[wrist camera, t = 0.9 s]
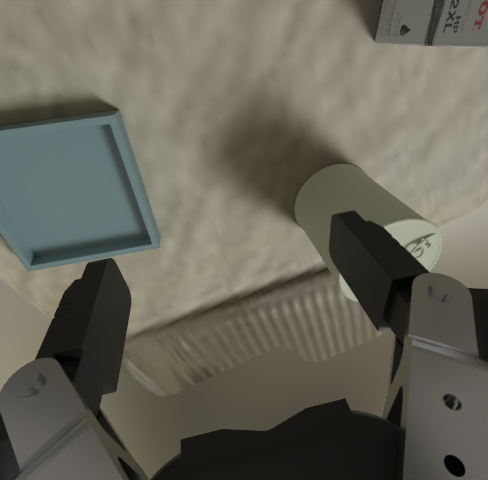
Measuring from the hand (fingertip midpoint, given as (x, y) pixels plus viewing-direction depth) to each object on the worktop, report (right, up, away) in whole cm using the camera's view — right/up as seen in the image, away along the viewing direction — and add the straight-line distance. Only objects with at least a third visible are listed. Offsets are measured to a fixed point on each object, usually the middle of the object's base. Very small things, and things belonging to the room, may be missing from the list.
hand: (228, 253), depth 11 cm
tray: (-16, +5, +17) cm, 23 cm away
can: (+11, +5, +23) cm, 26 cm away
